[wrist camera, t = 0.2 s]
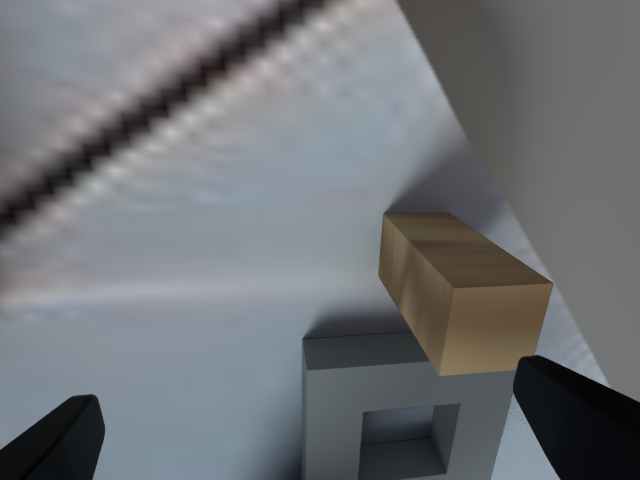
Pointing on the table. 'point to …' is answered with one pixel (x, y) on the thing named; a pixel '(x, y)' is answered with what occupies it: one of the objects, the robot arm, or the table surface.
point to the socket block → (396, 393)
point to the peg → (461, 293)
